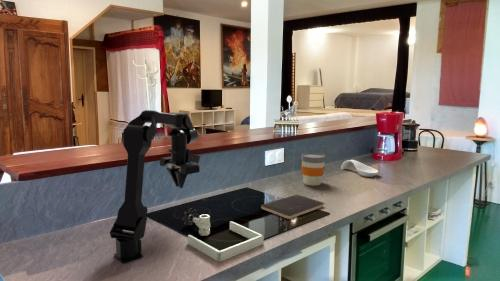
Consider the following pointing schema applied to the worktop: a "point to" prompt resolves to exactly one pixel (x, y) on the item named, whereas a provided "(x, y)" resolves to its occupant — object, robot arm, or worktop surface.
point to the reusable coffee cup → (312, 168)
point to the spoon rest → (361, 168)
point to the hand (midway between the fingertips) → (179, 187)
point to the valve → (198, 221)
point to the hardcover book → (292, 206)
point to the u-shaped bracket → (224, 254)
